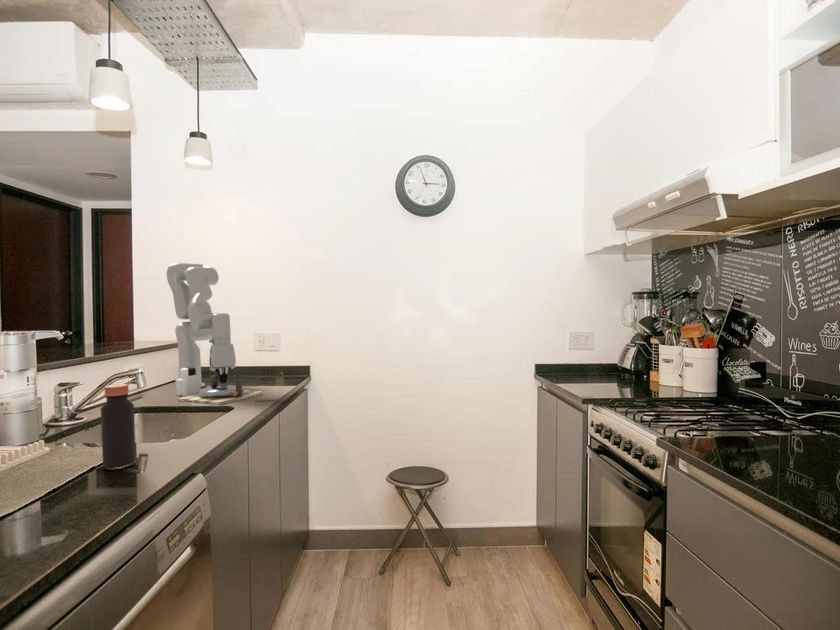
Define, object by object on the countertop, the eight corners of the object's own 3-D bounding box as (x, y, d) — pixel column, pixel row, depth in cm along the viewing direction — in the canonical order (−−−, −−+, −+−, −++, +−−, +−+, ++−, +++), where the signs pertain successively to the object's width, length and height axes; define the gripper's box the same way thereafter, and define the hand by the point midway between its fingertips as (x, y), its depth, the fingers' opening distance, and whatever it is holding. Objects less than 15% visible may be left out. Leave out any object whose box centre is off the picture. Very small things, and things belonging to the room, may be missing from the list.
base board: (177, 400, 195) (177, 381, 195) (223, 390, 217) (223, 373, 217) (220, 405, 185) (219, 384, 185) (263, 393, 207) (263, 375, 207)
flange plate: (204, 399, 186) (203, 383, 186) (195, 391, 203) (194, 377, 203) (250, 393, 197) (250, 378, 196) (238, 387, 213) (238, 372, 213)
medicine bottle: (191, 392, 213) (190, 366, 213) (201, 394, 209) (200, 367, 209) (176, 395, 207) (175, 368, 206) (186, 396, 203) (185, 369, 203)
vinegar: (98, 472, 112) (95, 389, 111) (108, 463, 118) (105, 384, 118) (130, 469, 114) (127, 387, 113) (139, 460, 120) (136, 382, 120)
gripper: (207, 343, 199) (209, 386, 200) (241, 340, 210) (243, 381, 210) (200, 342, 205) (202, 384, 205) (234, 340, 215) (236, 380, 215)
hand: (223, 382), depth 207 cm, fingers closed
